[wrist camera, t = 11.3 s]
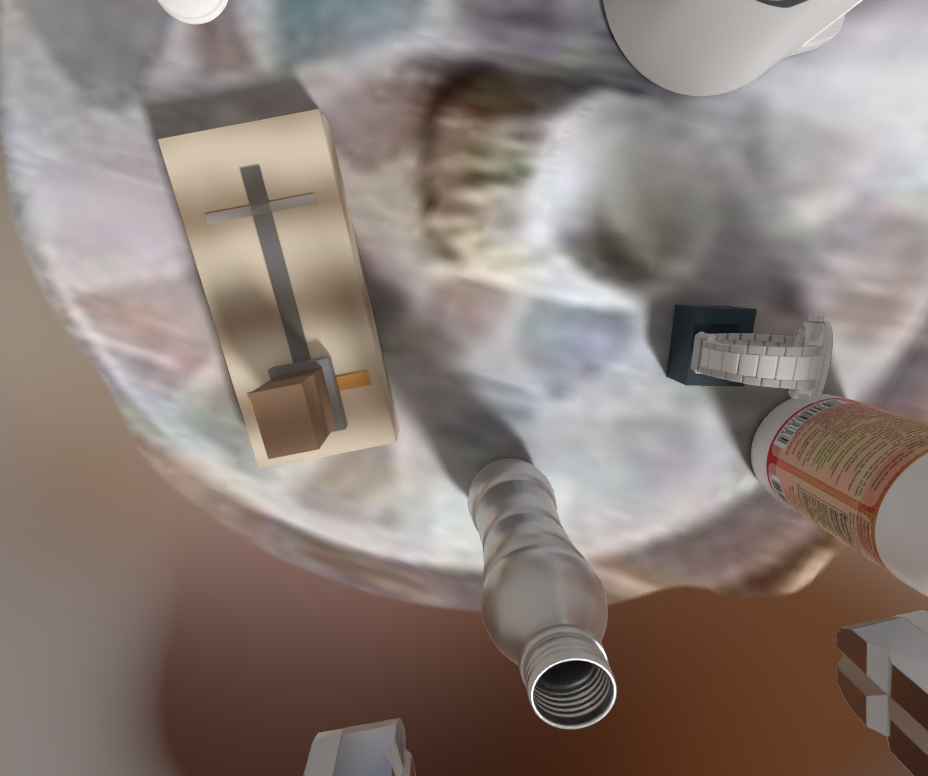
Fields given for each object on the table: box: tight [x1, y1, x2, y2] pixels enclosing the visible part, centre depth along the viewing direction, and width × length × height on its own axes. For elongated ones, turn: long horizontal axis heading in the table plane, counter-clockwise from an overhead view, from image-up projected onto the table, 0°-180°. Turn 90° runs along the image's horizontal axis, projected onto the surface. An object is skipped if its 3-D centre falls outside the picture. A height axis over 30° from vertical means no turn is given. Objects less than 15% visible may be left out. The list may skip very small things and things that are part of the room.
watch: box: [666, 305, 833, 403], centre depth 32 cm, size 6×8×11 cm
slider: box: [249, 356, 348, 459], centre depth 31 cm, size 5×4×6 cm
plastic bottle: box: [468, 458, 617, 729], centre depth 30 cm, size 6×7×20 cm
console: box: [158, 109, 400, 469], centre depth 34 cm, size 22×10×3 cm, turn 10°
